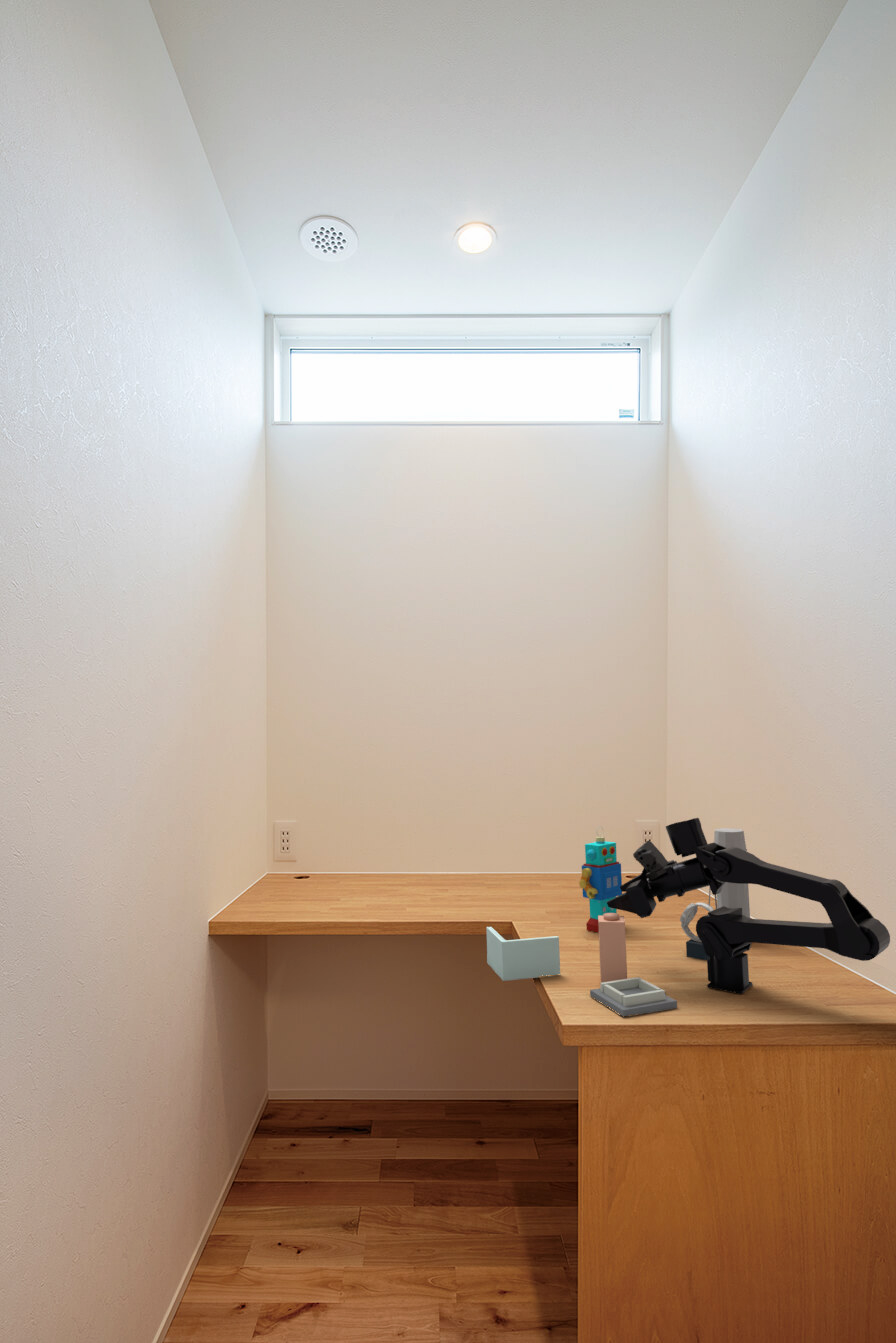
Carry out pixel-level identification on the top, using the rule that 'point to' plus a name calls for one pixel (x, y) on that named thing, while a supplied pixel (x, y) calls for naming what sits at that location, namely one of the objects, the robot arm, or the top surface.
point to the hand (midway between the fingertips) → (614, 896)
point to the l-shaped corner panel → (522, 956)
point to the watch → (694, 944)
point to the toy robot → (600, 879)
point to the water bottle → (730, 892)
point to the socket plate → (633, 996)
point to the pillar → (612, 947)
